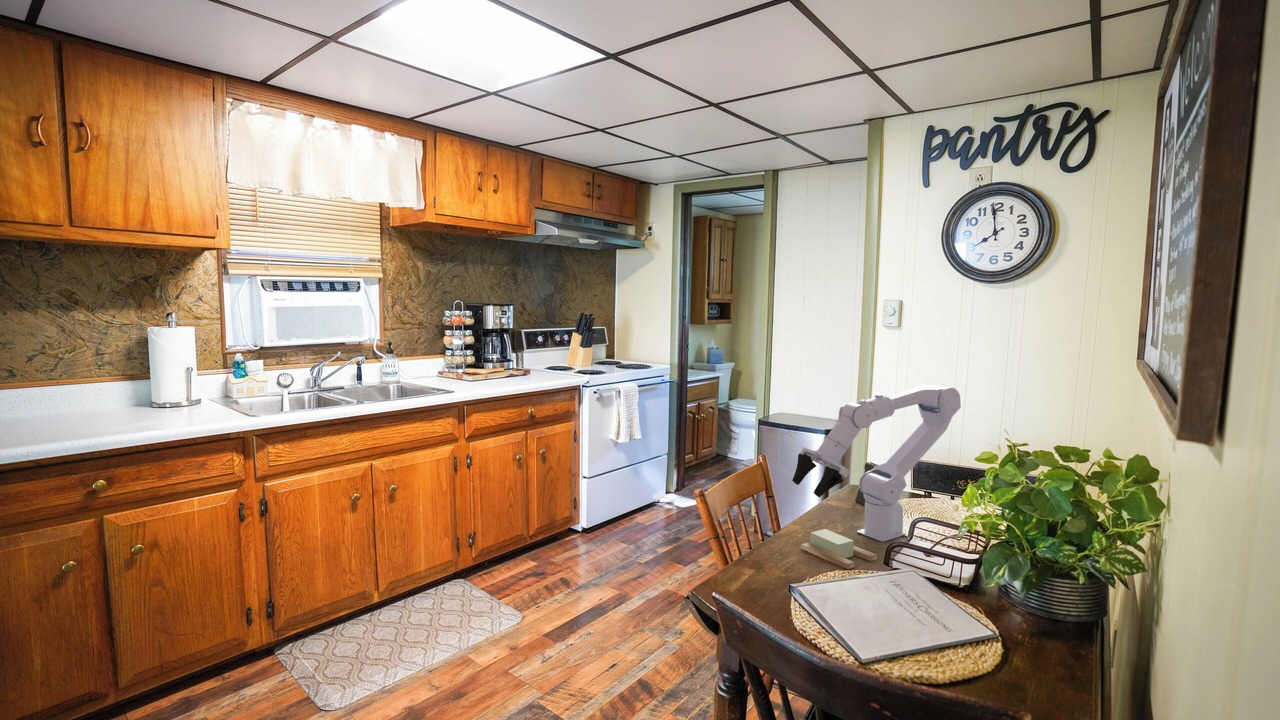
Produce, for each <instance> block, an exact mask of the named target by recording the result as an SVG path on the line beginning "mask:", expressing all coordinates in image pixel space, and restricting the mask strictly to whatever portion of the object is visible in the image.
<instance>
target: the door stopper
mask: <svg viewBox="0 0 1280 720" xmlns="http://www.w3.org/2000/svg"><path fill="white" fill-rule="evenodd" d="M878 465H879V464H876V463H874V462H871V461H870V462H865V463H864V473H866V472H868V471H870V470H872V469H873V468H874V467H875V466H878ZM864 473H863V474H864ZM854 501H855V502H857V503H858V504H860V505H862V506H864V507H865V498H864V493H862V492H861V490H860V488H858V490H857V494H856V497H855V500H854Z"/></svg>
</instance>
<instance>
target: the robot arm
mask: <svg viewBox="0 0 1280 720" xmlns="http://www.w3.org/2000/svg"><path fill="white" fill-rule="evenodd" d="M915 405H917V407H918V410H919V413H920V417H921V418H922V423H921V424H920V425H919V426H918V427H917V428H916V429H915V430H914V431H913V433H911V434H910V436H909V437H908V438H907V439H906V440H905V441H904V442H903V443H902V444H901V446H900V447H899V448H898V449H897V450H896V451H895V452H894V453H893V455H891V457H890V458H889V459H888V460H887V461H886V462H885V463H882V464H877V465H878V466H875V467H874V468H873V469H872V470H870V471H868V472H866V473H863V474H861V476H860V478H859V480H858V487H859V488H860V490H861V492H862V493H864V498H865V506H864V528H861V529H859V530H856V532H857V533H858V534H860V535H863V536H865V537H868V538H871V539H873V540H874V539H875V541H879V542H886V541H890V540H892V539H896V538H899V537H902V536H905V535H906V532H905V531H903V530H904V511H903V510H904V509H903V506H902V504H901V502H900V498H901V496H902V493H903V491H904V490H905V488H906V487H907V482H906V479H905V477H906V476H907V474H908V473H909V472H911V470H912V469H913V468H914V467H915V466H916V465H917V463H919V461H920V460H921V459H922V458H923V457H924V455H926V453H927V452H928V451H929V450H930V449H931V448H932V447H933V446H934V444H935V443H936V442H937V441H938V440H939V438H941V437H942V436H943V435H944V433H945V432H946V431H947V430H948V427H949V425H950V423H951V421H952V419H953V417H954V416H955V415H956V413H958V411H959V410H960V409H961V408H962V406H961V395H960V392H959V390H957V389H956V388H954V387H950V386H949V387H945V386H939V385H934V384H933V385H932V384H929V383H924V384H922V385H916V386H915V387H914V388H911V389H908V390H906V391H905V390H904V392H900V393H898V394H895V395H893V396H890V397H889V396H887V395H886V394H882V393H876V394H874V397H872V398H869V399H859V402H857V403H853V402H848V403H846V404H845V405H844V406H840V408H839V410H838V417H837V420H836V421H835V424H834V425H833V427H832V429H831V430H830V431H829V433H828V434H827V436H826V437H825V439H824V440H823V441H822V443H821V445H820V446H819V448H818V449H817V450H816V449H815V450H814V449H809V448H806V446H804V447H803V448H802V449H801V451H800V453H799V454H798V455H797V463H796V469H795V472H794V475H793V477H792V481H791V482H793V483H794V484H795V485H797V486H799V485H800V484H801V483H802V482H803V480H804V479H805V477H806V476H807V475H808V474H809V473H810V472H811V471H812V470H814V469H815V468H816V467H817V464H819V465H820V466H823V467H825V468H824V469H825V470H824V472H823V474H822V477H821V479H820V480H819V483H818V484H817V486H816V487H815V489H814V491H813V494H814V495H815V496H816V497H817V498H821V497H822V496H823V495H824V494H826V493H827V492H828V491H829V490H831V489H832V488H834V487H835V486H838V485H839V484H842V483H843V482H844V478H845V479H846V478H847V477H848V475H849V473H851V471H850V470H849V469H848V468H847V467H845V466H843V465H842V464H840V463H839V462H840V461H841V459H842V458H843V456H844V455H845V454H846V452H847V450H848V449H849V447H850V446H851V445H852V443H853V442H854V441H855V439H856V437H857V436H858V434H859V433H860V431H861V430H862V429H868V428H869V427H871V425H872V424H873V423H874V422H877V421H880V420H883V419H886V418H889V417H892V416H893V415H894V413H895V411H896V410H900V409H903V408H908V407H910V406H915ZM815 463H817V464H815ZM859 488H858V489H859Z"/></svg>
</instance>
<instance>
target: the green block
mask: <svg viewBox="0 0 1280 720" xmlns="http://www.w3.org/2000/svg"><path fill="white" fill-rule="evenodd" d="M809 537H810V540H809V541H810V542H809V543H810V544H812V545H814V546H817V547H819V548H822V549H824V550H826V551H829V552H831V553H834V554H836V555H838V556H841V557H843V558H846V559H848V558H850V557H854V554H853V549H854V546H855V545H854V542H855V541H854V539H851V538H848V537H846V536H843V535H841V534H838V533H837V532H835V531H834V532H833V531H832V530H829V529H827V528H823V529H820V530H815V531H811V532H810V536H809Z"/></svg>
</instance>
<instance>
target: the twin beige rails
mask: <svg viewBox="0 0 1280 720" xmlns="http://www.w3.org/2000/svg"><path fill="white" fill-rule="evenodd" d="M801 550H803V551H805V550H806V552H807V551H808V552H807V553H810V554H812V555H814V556H816V555H817V557H819V558H821V559H824V560H825V561H828V562H831V563H833V564H834V565H835V564H836V565H837V566H839V567H842V568H844V569H847V570H849V569H852V568H854V567H855V562H854V561H852V560H850V559H848V558H843V557H841V556H838V555H836V554H834V553H831V552H829V551H826V550H824V549H822V548H819V547H817V546H814V545H812V544H810V542H806V543H802V544H801ZM853 556H856V557H859V558H862V559H864V560H867V561H869V562H874V561H876V560H877V554H876V553H873V552H871V551H868V550H865V549H863V548H861V547H859V546H856V545H854V549H853Z"/></svg>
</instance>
